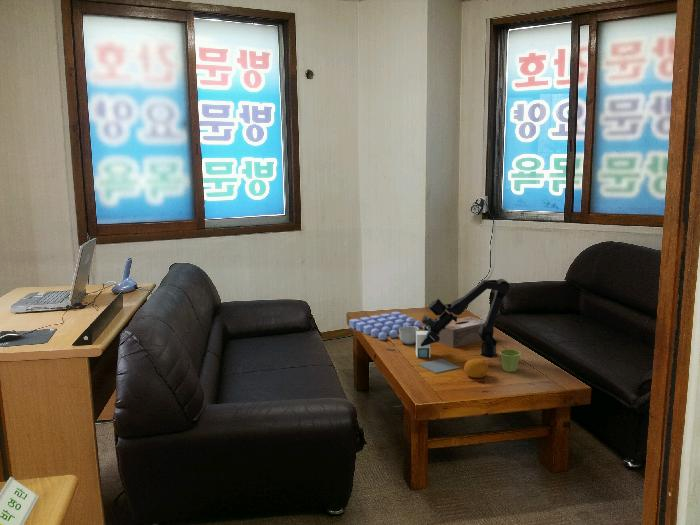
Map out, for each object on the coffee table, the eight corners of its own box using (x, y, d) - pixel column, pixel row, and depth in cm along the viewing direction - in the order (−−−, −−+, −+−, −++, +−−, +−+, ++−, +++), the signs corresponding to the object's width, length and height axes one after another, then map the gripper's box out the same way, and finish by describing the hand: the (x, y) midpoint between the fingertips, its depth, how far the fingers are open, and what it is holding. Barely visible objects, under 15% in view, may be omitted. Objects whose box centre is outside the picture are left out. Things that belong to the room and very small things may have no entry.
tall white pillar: (428, 353, 299) (428, 330, 297) (430, 357, 293) (430, 334, 291) (415, 353, 300) (415, 330, 298) (416, 357, 293) (417, 334, 291)
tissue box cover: (452, 348, 308) (453, 329, 307) (434, 341, 320) (435, 323, 319) (488, 339, 322) (488, 322, 320) (469, 333, 334) (470, 316, 332)
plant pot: (516, 375, 268) (517, 356, 266) (496, 371, 273) (497, 353, 271) (522, 368, 276) (523, 351, 274) (502, 365, 281) (503, 348, 279)
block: (426, 354, 298) (426, 347, 298) (427, 357, 294) (427, 349, 294) (418, 354, 298) (418, 347, 298) (419, 357, 294) (419, 349, 294)
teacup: (418, 346, 311) (418, 331, 310) (397, 345, 313) (397, 330, 312) (420, 338, 325) (420, 324, 323) (400, 337, 327) (400, 323, 326)
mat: (442, 359, 290) (442, 358, 290) (459, 368, 278) (459, 367, 277) (418, 364, 283) (418, 363, 283) (435, 373, 271) (435, 372, 271)
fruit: (468, 370, 274) (468, 354, 273) (490, 374, 269) (491, 357, 268) (460, 377, 265) (461, 361, 264) (483, 382, 260) (483, 364, 259)
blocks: (397, 318, 367) (397, 311, 366) (431, 332, 338) (431, 324, 337) (349, 327, 350) (349, 319, 349) (381, 342, 321) (381, 333, 320)
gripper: (429, 306, 301) (407, 326, 304) (433, 315, 283) (410, 337, 285) (444, 320, 303) (422, 341, 305) (449, 331, 284) (426, 353, 286)
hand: (420, 343), depth 295 cm, fingers open, 9 cm apart
